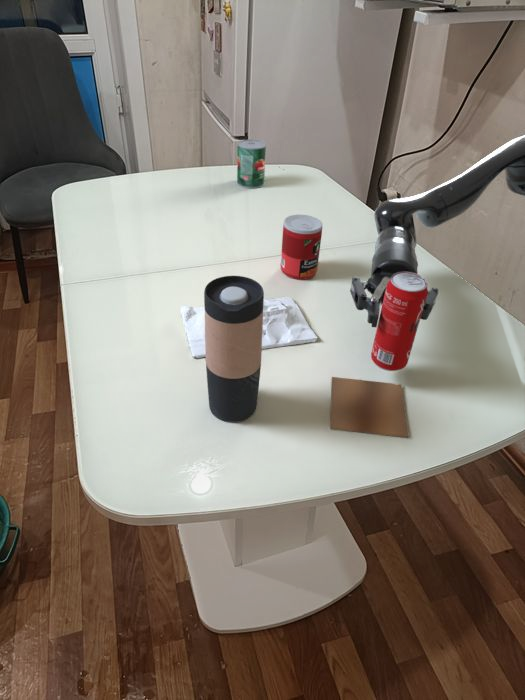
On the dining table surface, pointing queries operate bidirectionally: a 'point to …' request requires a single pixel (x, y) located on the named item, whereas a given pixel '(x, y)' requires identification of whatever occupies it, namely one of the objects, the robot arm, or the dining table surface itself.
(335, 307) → the dining table surface
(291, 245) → the canned food
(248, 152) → the canned tomato
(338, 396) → the cork mat
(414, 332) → the beverage can
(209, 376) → the travel mug
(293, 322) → the terrain model
